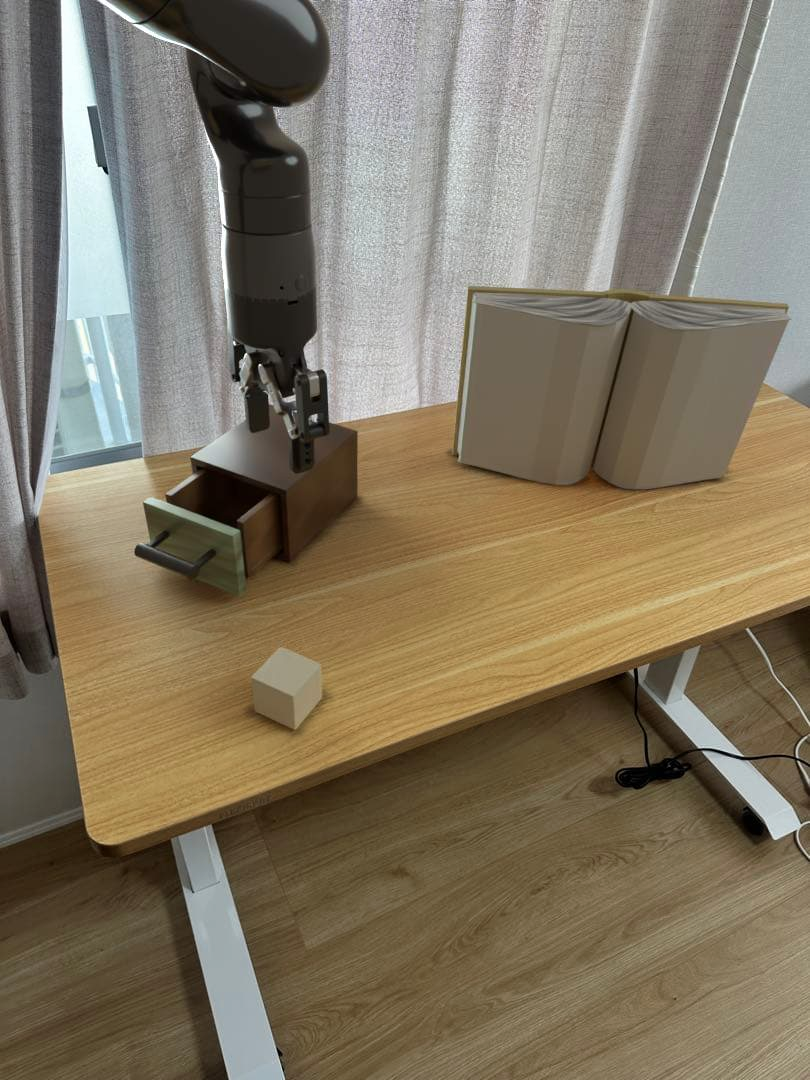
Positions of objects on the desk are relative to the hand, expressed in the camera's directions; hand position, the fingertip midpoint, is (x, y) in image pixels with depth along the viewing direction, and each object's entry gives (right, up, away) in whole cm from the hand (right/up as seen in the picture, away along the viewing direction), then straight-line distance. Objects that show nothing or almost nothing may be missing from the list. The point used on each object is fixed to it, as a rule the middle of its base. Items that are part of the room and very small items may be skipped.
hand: (279, 449), depth 76 cm
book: (+36, 0, +31) cm, 48 cm away
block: (+1, -23, -3) cm, 24 cm away
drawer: (-8, -10, +12) cm, 18 cm away
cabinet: (-3, -5, +20) cm, 21 cm away
